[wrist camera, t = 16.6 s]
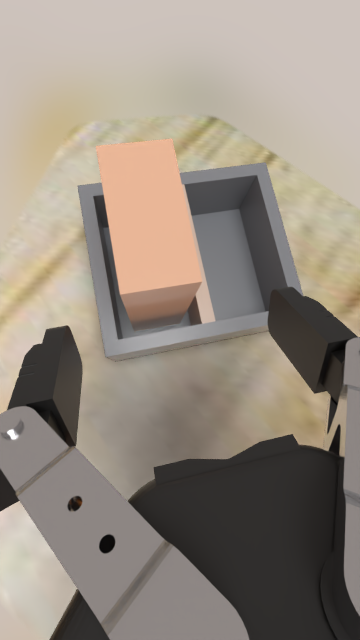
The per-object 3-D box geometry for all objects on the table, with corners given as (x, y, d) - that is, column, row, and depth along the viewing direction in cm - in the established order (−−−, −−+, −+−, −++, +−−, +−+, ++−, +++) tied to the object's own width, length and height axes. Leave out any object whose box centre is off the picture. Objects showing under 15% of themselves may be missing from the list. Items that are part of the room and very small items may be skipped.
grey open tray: (243, 204, 30) (265, 162, 24) (276, 329, 28) (309, 317, 22) (92, 225, 28) (77, 185, 22) (115, 361, 26) (105, 357, 20)
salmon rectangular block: (163, 239, 28) (172, 138, 16) (179, 323, 26) (202, 281, 15) (119, 245, 27) (95, 145, 15) (134, 331, 26) (120, 294, 14)
